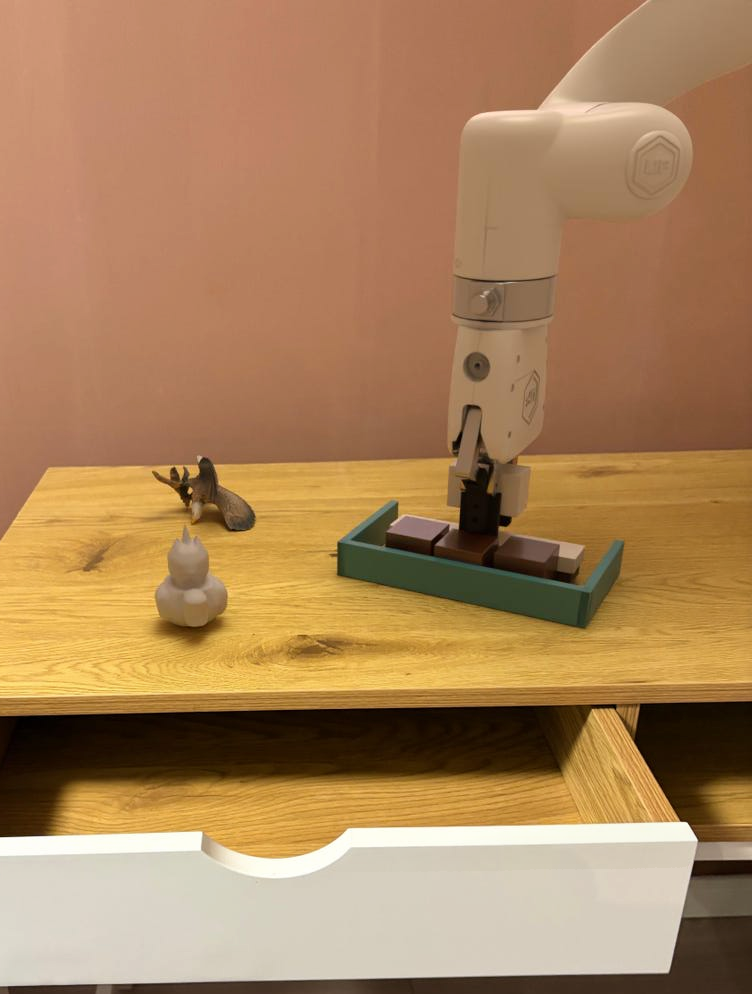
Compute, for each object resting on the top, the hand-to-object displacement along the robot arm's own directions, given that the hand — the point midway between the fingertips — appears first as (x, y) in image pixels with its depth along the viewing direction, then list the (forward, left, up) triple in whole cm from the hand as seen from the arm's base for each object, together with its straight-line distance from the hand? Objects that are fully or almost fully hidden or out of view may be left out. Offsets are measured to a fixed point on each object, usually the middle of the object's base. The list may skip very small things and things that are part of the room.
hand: (485, 528), depth 81 cm
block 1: (+5, +3, -4) cm, 7 cm away
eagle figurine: (+27, +1, -4) cm, 27 cm away
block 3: (-5, +4, -4) cm, 7 cm away
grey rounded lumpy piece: (+16, +20, -4) cm, 26 cm away
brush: (0, 0, -3) cm, 3 cm away
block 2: (0, +4, -4) cm, 5 cm away
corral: (0, +1, -4) cm, 4 cm away
